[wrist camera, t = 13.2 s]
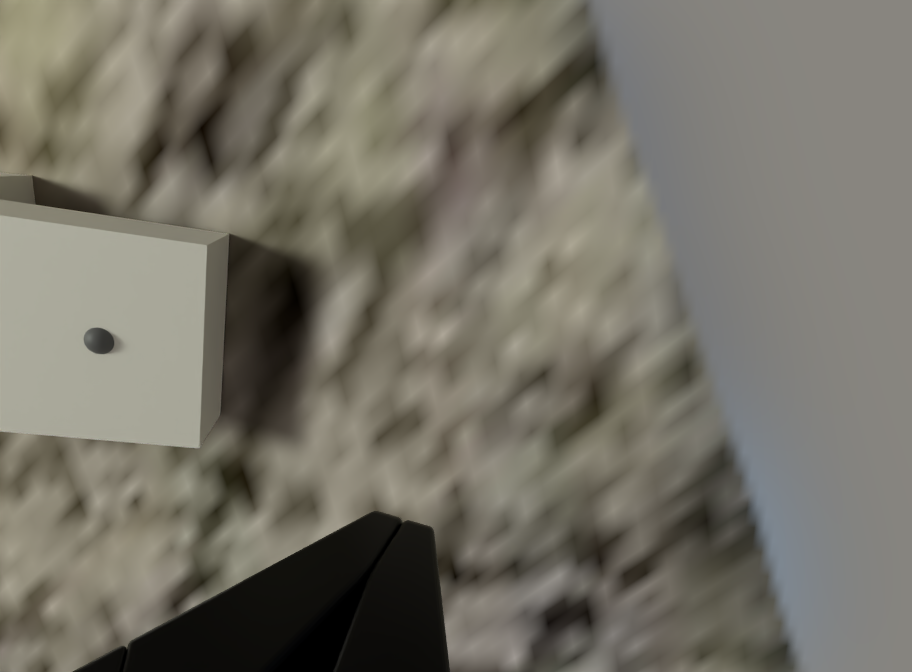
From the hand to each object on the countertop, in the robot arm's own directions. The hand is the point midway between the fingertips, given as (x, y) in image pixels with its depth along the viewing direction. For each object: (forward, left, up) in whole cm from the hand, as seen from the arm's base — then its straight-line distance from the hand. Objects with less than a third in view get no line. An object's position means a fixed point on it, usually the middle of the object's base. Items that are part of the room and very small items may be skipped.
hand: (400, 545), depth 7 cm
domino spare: (0, +7, -5) cm, 8 cm away
